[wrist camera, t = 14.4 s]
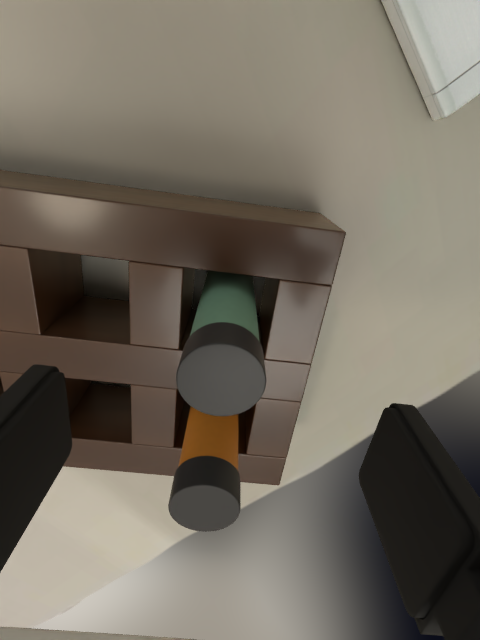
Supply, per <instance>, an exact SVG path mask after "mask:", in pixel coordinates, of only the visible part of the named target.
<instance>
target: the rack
mask: <svg viewBox="0 0 480 640" xmlns="http://www.w3.org/2000/svg"><path fill="white" fill-rule="evenodd" d="M345 235H346V232H345V231H344V230H342V229H341V228H339V227H338V226H337V225H335V224H334V223H333V222H331V221H330V220H329V219H327V218H326V217H325V216H323V215H322V214H320V213H315V212H308V211H301V210H293V209H286V208H278V207H271V206H264V205H256V204H249V203H241V202H234V201H227V200H219V199H212V198H204V197H197V196H189V195H182V194H175V193H167V192H160V191H152V190H145V189H138V188H130V187H123V186H115V185H108V184H101V183H93V182H86V181H78V180H71V179H64V178H56V177H49V176H41V175H34V174H26V173H19V172H12V171H4V170H0V396H1V395H2V394H3V393H4V392H5V391H6V390H7V389H8V388H9V387H10V386H11V385H12V384H13V383H14V382H15V381H16V380H17V379H19V378H20V377H21V376H22V375H23V374H24V373H25V372H26V371H27V370H28V369H29V368H30V367H31V366H32V365H35V364H38V365H47V366H56V367H57V368H58V369H59V372H62V373H64V375H65V382H66V391H67V400H68V409H69V417H70V426H71V435H72V449H71V452H70V455H69V457H68V458H67V460H66V462H65V463H64V465H63V466H66V467H77V468H89V469H100V470H111V471H123V472H134V473H145V474H157V475H168V476H174V475H175V472H176V470H177V468H178V467H179V462H180V457H181V452H182V447H183V441H184V436H185V431H186V426H187V421H188V416H189V411H190V405H189V404H188V403H187V402H186V401H185V400H184V399H183V397H182V396H181V394H180V392H179V390H178V387H177V383H176V373H177V369H178V366H179V362H180V359H181V355H182V352H183V348H184V345H185V343H186V341H187V340H188V338H189V337H190V333H191V330H192V326H193V323H194V319H195V315H196V312H197V309H192V303H193V289H194V275H195V269H201V270H209V271H217V272H225V273H233V274H242V275H250V276H258V277H266V279H265V285H264V291H263V296H262V302H261V308H260V314H259V316H257V322H258V332H259V341H260V344H261V346H262V349H263V354H264V362H265V371H266V387H265V391H264V393H263V395H262V396H261V398H260V400H259V401H258V402H257V403H256V404H255V405H254V406H253V407H251V408H250V409H248V410H246V411H244V412H242V413H240V414H238V472H239V475H240V482H248V483H259V484H270V485H279V484H280V480H281V476H282V472H283V469H284V465H285V461H286V457H287V454H288V450H289V446H290V442H291V439H292V435H293V431H294V427H295V424H296V420H297V416H298V412H299V408H300V405H301V401H302V398H303V394H304V390H305V386H306V382H307V379H308V375H309V371H310V367H311V363H312V359H313V355H314V352H315V348H316V344H317V340H318V337H319V333H320V329H321V325H322V321H323V318H324V314H325V310H326V306H327V303H328V299H329V295H330V291H331V285H332V284H333V280H334V276H335V272H336V269H337V265H338V261H339V257H340V254H341V250H342V246H343V242H344V238H345ZM81 255H87V256H95V257H103V258H111V259H119V260H128V261H129V301H123V300H114V299H106V298H97V297H88V296H84V291H83V279H82V267H81ZM91 380H94V381H103V382H113V383H123V384H131V387H122V386H113V385H103V384H93V383H91Z"/></svg>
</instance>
